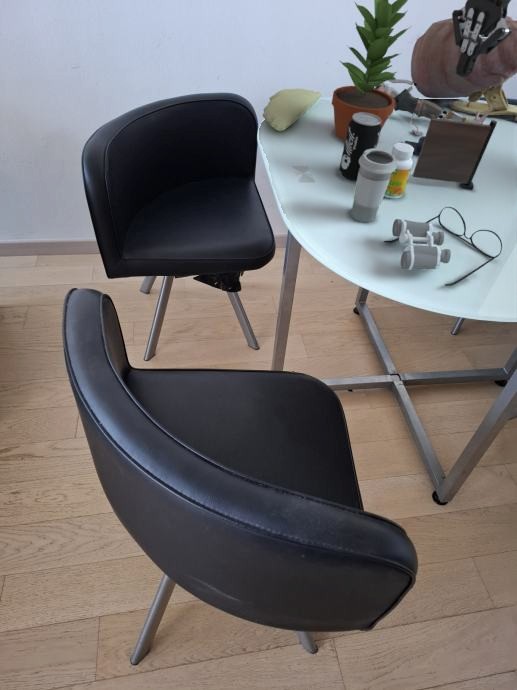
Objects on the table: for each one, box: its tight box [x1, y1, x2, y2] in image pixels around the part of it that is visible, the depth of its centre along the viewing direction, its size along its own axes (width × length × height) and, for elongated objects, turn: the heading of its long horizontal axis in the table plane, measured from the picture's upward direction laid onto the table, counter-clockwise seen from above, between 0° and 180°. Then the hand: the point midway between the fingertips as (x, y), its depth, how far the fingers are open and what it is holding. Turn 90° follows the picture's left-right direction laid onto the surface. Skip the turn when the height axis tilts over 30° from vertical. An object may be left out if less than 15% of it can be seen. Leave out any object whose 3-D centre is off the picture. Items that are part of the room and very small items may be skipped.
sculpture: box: [410, 15, 517, 99], centre depth 132 cm, size 19×28×30 cm
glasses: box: [383, 206, 503, 287], centre depth 87 cm, size 14×15×5 cm
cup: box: [350, 148, 396, 223], centre depth 90 cm, size 7×7×12 cm
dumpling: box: [262, 88, 322, 132], centre depth 123 cm, size 26×4×10 cm
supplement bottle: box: [383, 142, 414, 200], centre depth 98 cm, size 5×5×10 cm
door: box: [412, 118, 491, 184], centre depth 100 cm, size 1×12×12 cm, turn 85°
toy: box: [374, 78, 491, 136], centre depth 126 cm, size 9×16×30 cm
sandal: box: [449, 83, 517, 123], centre depth 134 cm, size 13×23×8 cm, turn 52°
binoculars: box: [391, 218, 452, 271], centre depth 83 cm, size 12×8×4 cm, turn 179°
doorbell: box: [404, 135, 426, 156], centre depth 116 cm, size 12×6×2 cm, turn 78°
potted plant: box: [331, 0, 413, 142], centre depth 108 cm, size 15×15×30 cm
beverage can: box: [339, 112, 382, 182], centre depth 101 cm, size 7×7×12 cm
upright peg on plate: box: [460, 119, 498, 191], centre depth 101 cm, size 2×2×14 cm
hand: (462, 75), depth 94 cm, fingers closed
